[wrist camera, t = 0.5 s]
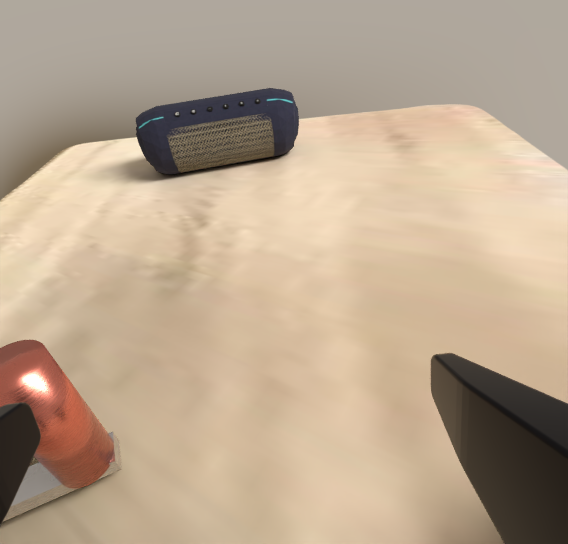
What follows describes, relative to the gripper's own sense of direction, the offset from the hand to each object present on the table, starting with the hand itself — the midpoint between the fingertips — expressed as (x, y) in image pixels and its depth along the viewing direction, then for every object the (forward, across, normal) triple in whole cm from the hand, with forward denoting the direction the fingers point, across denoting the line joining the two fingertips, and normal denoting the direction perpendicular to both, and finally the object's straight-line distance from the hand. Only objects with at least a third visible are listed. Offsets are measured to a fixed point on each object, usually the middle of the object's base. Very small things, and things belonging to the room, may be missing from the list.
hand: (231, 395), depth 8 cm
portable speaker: (+58, +7, -3) cm, 59 cm away
